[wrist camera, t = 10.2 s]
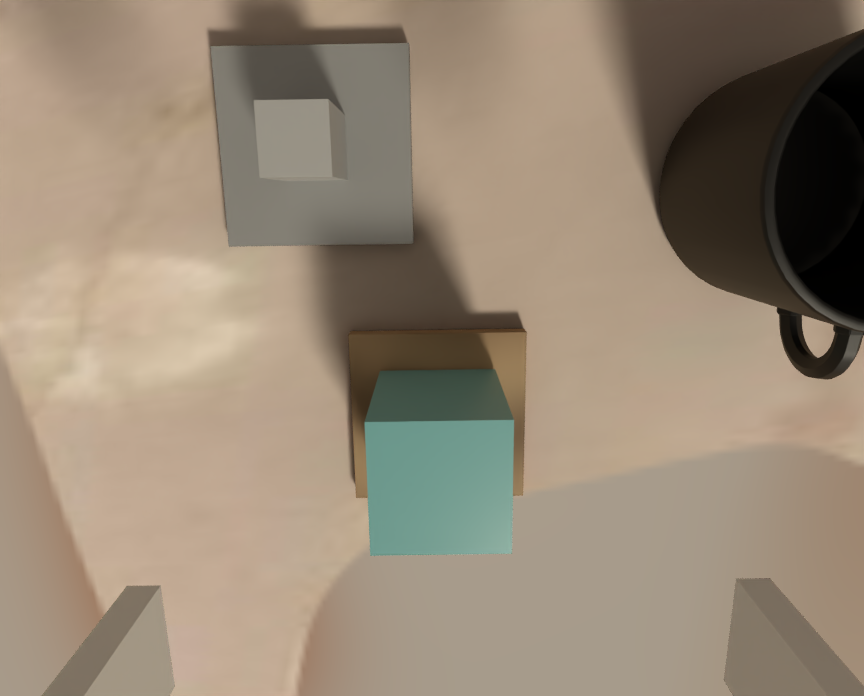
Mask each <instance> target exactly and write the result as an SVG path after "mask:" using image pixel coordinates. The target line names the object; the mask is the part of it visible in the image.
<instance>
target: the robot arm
mask: <svg viewBox="0 0 864 696" xmlns="http://www.w3.org/2000/svg"><path fill="white" fill-rule="evenodd" d="M724 681H725V683H726V685H727V686H728V688H729V690H730V691H731V693H732V694H733V696H864V686H863V685H862V683H861V682H860V681H859V680H858V679H857V678H856V677H855V675H854V674H853V673H852V672H851V671H850V670H849V668H848V667H847V666H846V665H845V664H844V663H843V662H842V660H841V659H840V658H839V657H838V656H837V655H836V654H835V652H834V651H833V650H832V649H831V648H830V647H829V646H828V644H827V643H826V642H825V641H824V640H823V639H822V638H821V636H820V635H819V634H818V633H817V632H816V631H815V629H814V628H813V627H812V626H811V625H810V624H809V623H808V621H807V620H806V619H805V618H804V617H803V616H802V615H801V613H800V612H799V611H798V610H797V609H796V608H795V607H794V605H793V604H792V603H791V602H790V601H789V600H788V598H787V597H786V596H785V595H784V594H783V593H782V592H781V590H780V589H779V588H778V587H777V586H776V585H775V584H774V582H773V581H772V580H771V579H770V578H764V579H763V578H759V579H757V578H755V579H736V584H735V593H734V601H733V609H732V618H731V626H730V634H729V643H728V651H727V659H726V667H725V675H724ZM174 687H175V685H174V678H173V670H172V663H171V656H170V649H169V642H168V635H167V628H166V621H165V614H164V607H163V600H162V593H161V586H127V587H126V588H125V589H124V591H123V592H122V593H121V594H120V596H119V597H118V598H117V600H116V601H115V602H114V603H113V605H112V606H111V607H110V609H109V610H108V611H107V612H106V614H105V615H104V616H103V618H102V619H101V620H100V621H99V623H98V624H97V625H96V627H95V628H94V629H93V630H92V632H91V633H90V634H89V636H88V637H87V638H86V639H85V641H84V642H83V643H82V645H81V646H80V647H79V649H78V650H77V651H76V652H75V654H74V655H73V656H72V657H71V659H70V660H69V661H68V663H67V664H66V665H65V667H64V668H63V669H62V670H61V672H60V673H59V674H58V676H57V677H56V678H55V680H54V681H53V682H52V683H51V685H50V686H49V687H48V688H47V690H46V691H45V692H44V693H43V695H42V696H170V694H171V692H172V690H173V688H174Z"/></svg>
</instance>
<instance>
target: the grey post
mask: <svg viewBox="0 0 864 696" xmlns="http://www.w3.org/2000/svg"><path fill="white" fill-rule="evenodd" d="M210 47H211V58H212V69H213V80H214V90H215V101H216V112H217V123H218V134H219V145H220V156H221V167H222V178H223V189H224V199H225V210H226V221H227V232H228V243H229V247H232V246H297V245H362V244H413V243H414V236H413V191H412V145H411V99H410V54H409V43H373V44H312V45H251V46H210Z"/></svg>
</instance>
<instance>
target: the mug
mask: <svg viewBox="0 0 864 696" xmlns="http://www.w3.org/2000/svg"><path fill="white" fill-rule="evenodd" d="M659 192H660V211H661V217H662V222H663V226H664V229H665V232H666V235H667V237H668V240H669V242H670V244H671V246H672V247H673V249H674V251H675V253H676V254H677V256H678V257H679V258H680V260H681V261H682V262H683V263H684V264H685V266H686V267H687V268H688V269H689V270H691V271H692V272H693V273H694V274H695V275H696V276H698V277H699V278H700V279H702V280H704V281H705V282H707V283H709V284H710V285H712V286H715V287H717V288H720V289H722V290H725V291H727V292H730V293H734V294H737V295H740V296H743V297H747V298H750V299H753V300H756V301H759V302H763V303H766V304H769V305H772V306H775V307H777V313H778V314H779V322H780V335H781V339H782V343H783V347H784V350H785V352H786V354H787V356H788V358H789V360H790V361H791V363H792V364H793V366H794V367H795V368H796V369H797V370H798V371H800V372H801V373H802V374H804V375H805V376H808V377H812V378H819V379H832V378H835V377H837V376H839V375H841V374H842V373H844V372H845V371H846V370H847V368H848V367H849V366H850V364H851V363H852V362H853V360H854V358H855V357H856V355H857V353H858V351H859V348H860V345H861V342H862V338H863V335H864V29H862V30H860V31H857V32H855V33H852V34H850V35H847V36H845V37H842V38H840V39H837V40H835V41H832V42H829V43H827V44H824V45H822V46H819V47H817V48H814V49H812V50H809V51H807V52H804V53H802V54H799V55H797V56H794V57H791V58H789V59H786V60H784V61H781V62H779V63H776V64H774V65H771V66H769V67H766V68H764V69H761V70H758V71H756V72H753V73H751V74H748V75H746V76H743V77H741V78H739V79H737V80H735V81H733V82H731V83H729V84H727V85H725V86H723V87H722V88H720V89H719V90H717V91H716V92H714V93H713V94H711V95H710V96H709V97H708V98H707V99H706V100H704V101H703V102H702V103H701V104H700V105H699V106H698V107H697V108H696V109H695V110H694V111H693V112H692V114H691V115H690V116H689V117H688V118H687V120H686V121H685V122H684V123H683V125H682V127H681V128H680V130H679V132H678V133H677V135H676V136H675V138H674V140H673V142H672V145H671V147H670V149H669V151H668V154H667V156H666V160H665V163H664V167H663V171H662V176H661V183H660V191H659ZM802 315H804V316H807V317H811V318H814V319H817V320H820V321H823V322H827V323H830V324H833V325H834V328H833V330H834V332H835V335H834V339H833V342H832V344H831V347H830V348H829V350H828V351H827V352H826V353H825V354H824V355H823V356H822V357H820V358H817V357H815V356H814V355H813V354H812V352H811V351H810V350H809V348H808V346H807V344H806V342H805V339H804V335H803V331H802Z"/></svg>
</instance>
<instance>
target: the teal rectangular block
mask: <svg viewBox="0 0 864 696" xmlns="http://www.w3.org/2000/svg"><path fill="white" fill-rule="evenodd" d="M365 444H366V467H367V489H368V512H369V535H370V555H371V556H372V555H373V556H376V555H445V554H512V516H513V513H512V511H513V455H514V418H513V416H512V413H511V410H510V408H509V405H508V402H507V400H506V397H505V394H504V392H503V389H502V386H501V384H500V381H499V378H498V376H497V373H496V370H495V369H461V370H396V371H380V372H379V376H378V379H377V382H376V386H375V389H374V392H373V396H372V399H371V402H370V406H369V409H368V412H367V416H366V419H365Z"/></svg>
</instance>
